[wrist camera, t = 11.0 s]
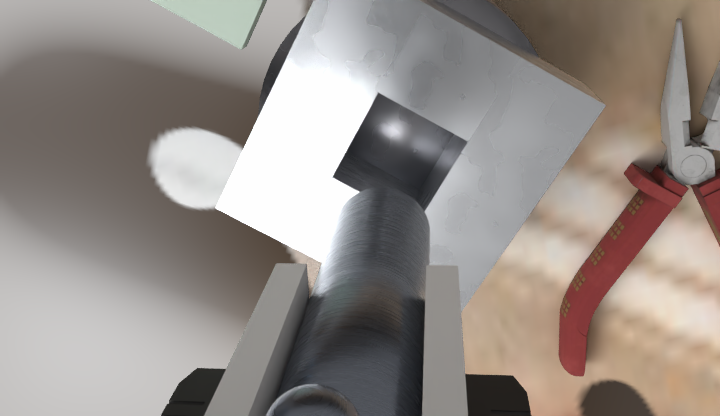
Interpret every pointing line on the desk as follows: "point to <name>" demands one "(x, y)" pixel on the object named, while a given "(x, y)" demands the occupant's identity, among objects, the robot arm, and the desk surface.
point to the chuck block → (409, 126)
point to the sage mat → (220, 17)
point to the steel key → (364, 315)
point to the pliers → (648, 203)
